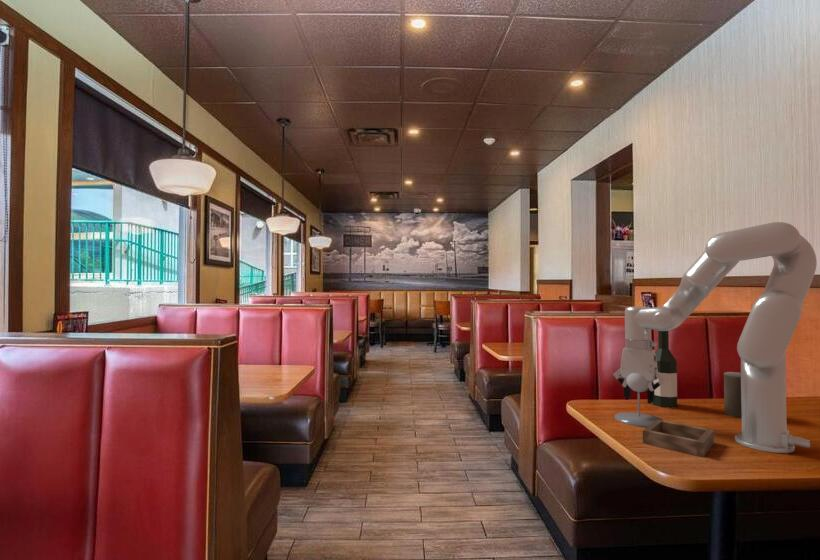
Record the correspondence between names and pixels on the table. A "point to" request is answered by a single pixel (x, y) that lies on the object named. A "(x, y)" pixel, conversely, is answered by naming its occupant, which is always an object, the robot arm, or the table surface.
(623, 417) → the gray round disc
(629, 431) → the table surface
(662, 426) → the frame
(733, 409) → the pillar candle
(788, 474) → the table surface
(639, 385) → the eyeball on stick
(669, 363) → the wine bottle
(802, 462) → the table surface
